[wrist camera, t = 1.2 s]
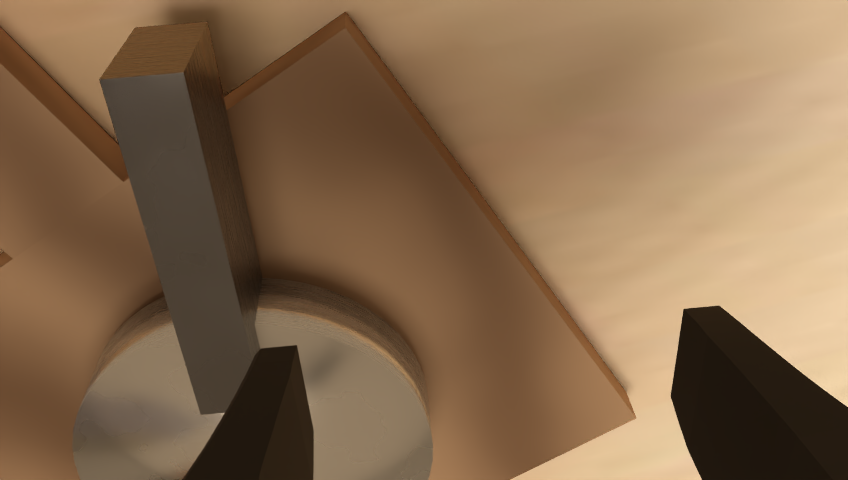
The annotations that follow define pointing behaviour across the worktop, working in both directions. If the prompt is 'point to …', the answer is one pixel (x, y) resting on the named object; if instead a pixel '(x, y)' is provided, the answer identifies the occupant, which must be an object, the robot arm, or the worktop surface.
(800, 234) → the worktop surface
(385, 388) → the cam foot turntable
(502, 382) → the walnut stand
